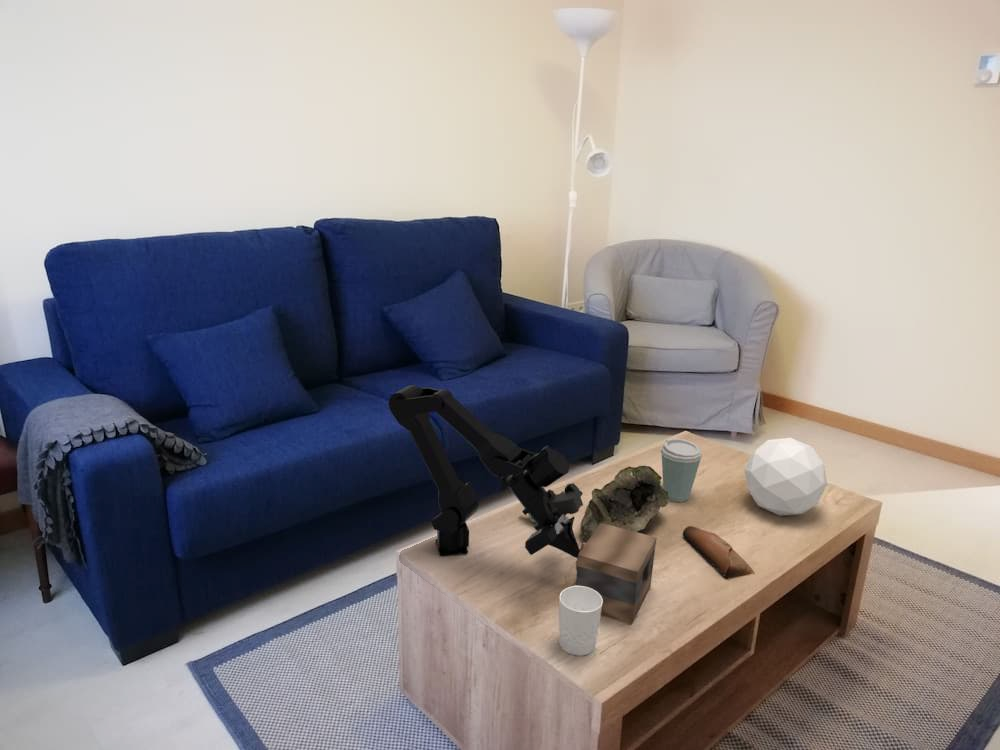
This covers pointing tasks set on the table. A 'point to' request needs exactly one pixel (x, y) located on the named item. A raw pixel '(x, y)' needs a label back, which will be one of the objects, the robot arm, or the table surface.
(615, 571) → the walnut block
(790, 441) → the geometric sphere
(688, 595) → the table surface
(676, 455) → the disposable coffee cup
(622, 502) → the hollow geode rock
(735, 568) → the sunglasses case
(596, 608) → the white cup
